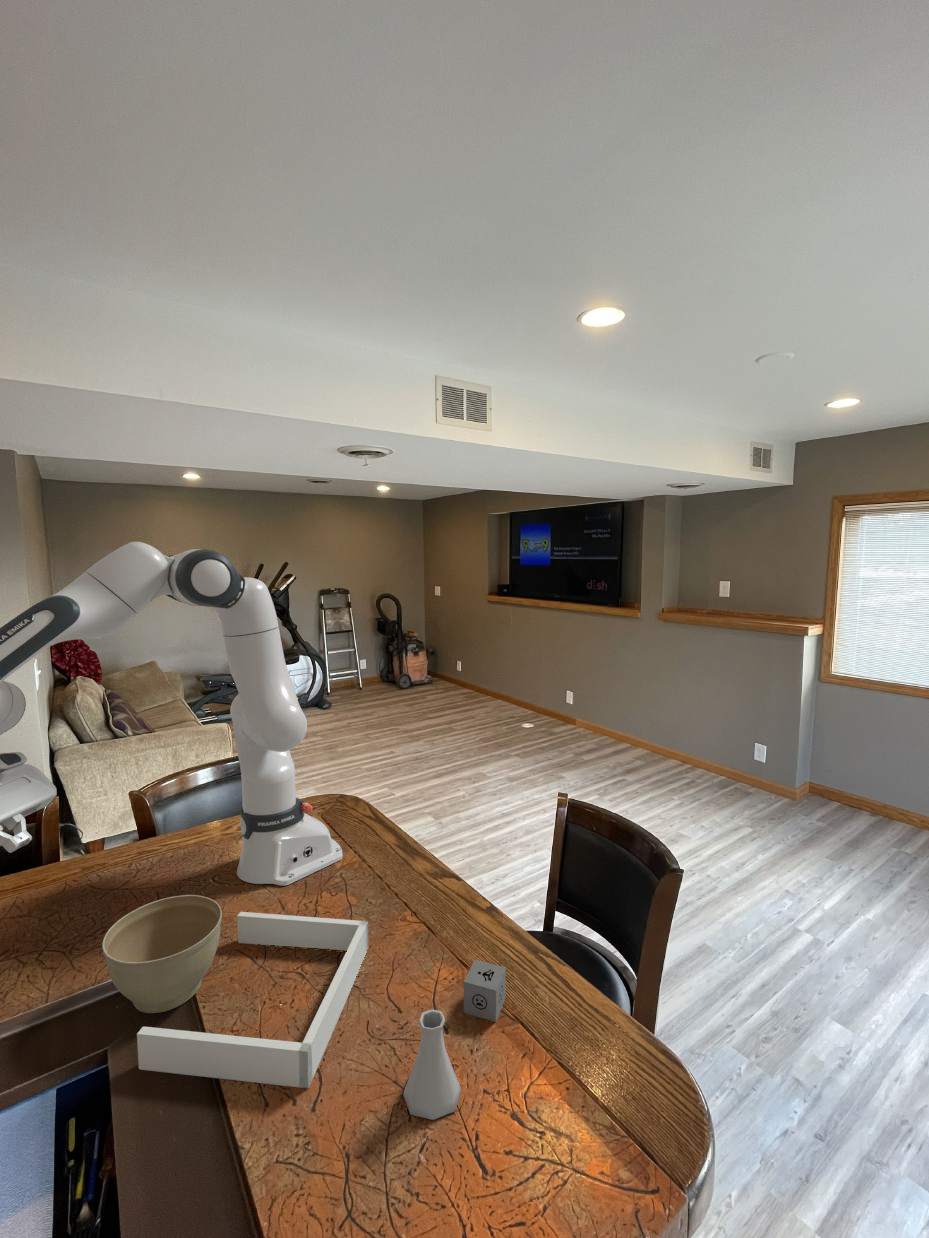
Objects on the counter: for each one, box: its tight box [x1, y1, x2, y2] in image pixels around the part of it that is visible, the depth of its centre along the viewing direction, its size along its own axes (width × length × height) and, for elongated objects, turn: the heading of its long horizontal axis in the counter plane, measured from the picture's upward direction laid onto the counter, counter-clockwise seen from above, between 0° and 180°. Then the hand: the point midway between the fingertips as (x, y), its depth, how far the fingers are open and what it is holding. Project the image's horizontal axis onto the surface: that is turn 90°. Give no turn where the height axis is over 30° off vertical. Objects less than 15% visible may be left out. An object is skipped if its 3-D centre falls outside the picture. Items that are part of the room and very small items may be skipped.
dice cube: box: [463, 959, 507, 1023], centre depth 84 cm, size 5×5×5 cm
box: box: [136, 911, 370, 1089], centre depth 85 cm, size 23×26×5 cm
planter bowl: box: [101, 894, 223, 1014], centre depth 87 cm, size 16×16×11 cm
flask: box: [403, 1009, 462, 1121], centre depth 70 cm, size 7×7×10 cm
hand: (21, 845), depth 88 cm, fingers closed
